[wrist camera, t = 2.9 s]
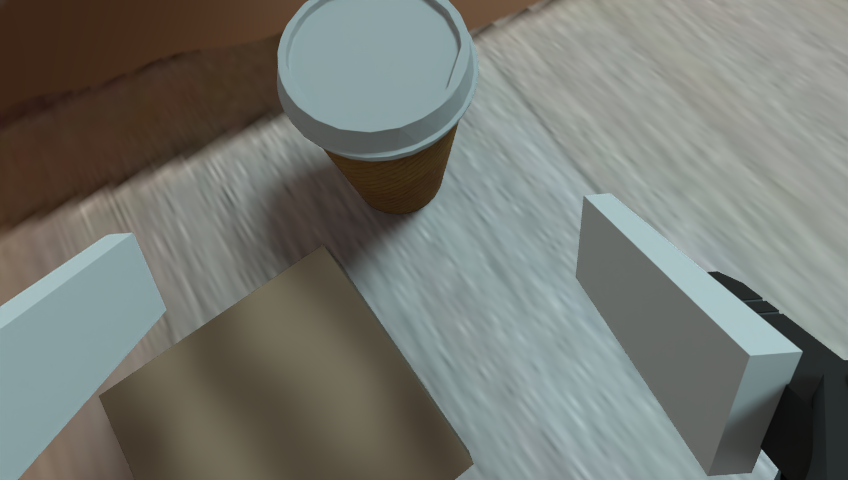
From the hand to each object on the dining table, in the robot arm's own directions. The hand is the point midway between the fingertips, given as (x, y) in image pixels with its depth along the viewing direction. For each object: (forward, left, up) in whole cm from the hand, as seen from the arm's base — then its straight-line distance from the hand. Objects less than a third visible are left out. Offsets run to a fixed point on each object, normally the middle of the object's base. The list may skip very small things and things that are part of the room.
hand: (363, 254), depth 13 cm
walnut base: (+8, +1, -15) cm, 17 cm away
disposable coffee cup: (-6, -9, -15) cm, 18 cm away
